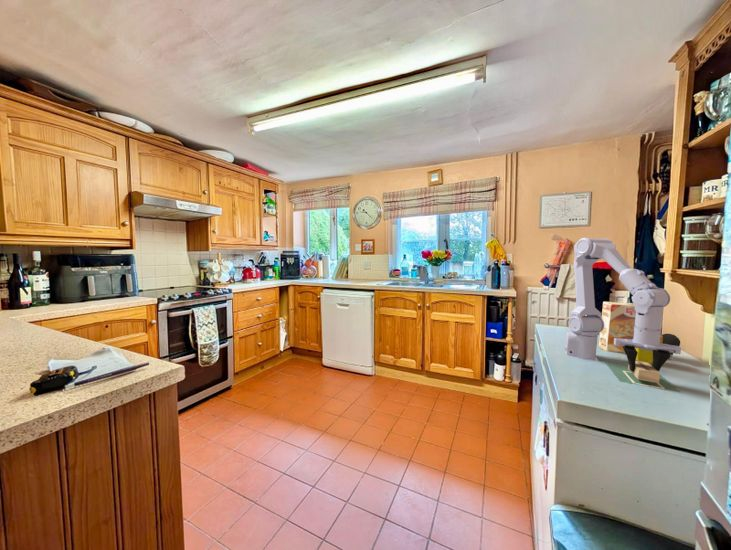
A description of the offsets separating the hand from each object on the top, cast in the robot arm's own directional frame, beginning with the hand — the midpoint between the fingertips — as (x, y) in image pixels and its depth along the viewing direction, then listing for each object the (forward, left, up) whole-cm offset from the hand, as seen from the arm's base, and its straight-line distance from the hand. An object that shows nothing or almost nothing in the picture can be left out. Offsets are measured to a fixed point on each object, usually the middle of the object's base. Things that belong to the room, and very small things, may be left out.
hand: (642, 372), depth 88 cm
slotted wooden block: (0, 0, -1) cm, 1 cm away
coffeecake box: (+4, +33, -3) cm, 33 cm away
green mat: (0, +3, -3) cm, 4 cm away
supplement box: (+7, +21, -3) cm, 23 cm away
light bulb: (+15, +29, -3) cm, 33 cm away
